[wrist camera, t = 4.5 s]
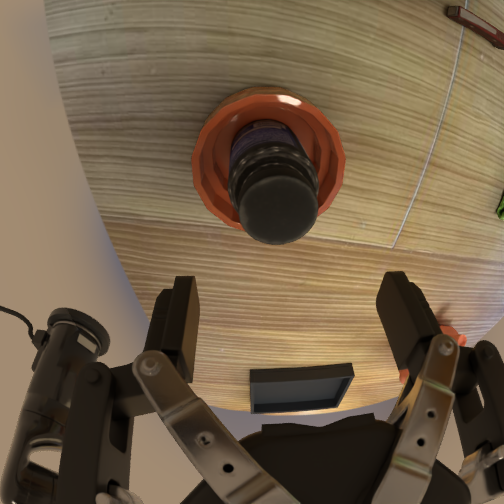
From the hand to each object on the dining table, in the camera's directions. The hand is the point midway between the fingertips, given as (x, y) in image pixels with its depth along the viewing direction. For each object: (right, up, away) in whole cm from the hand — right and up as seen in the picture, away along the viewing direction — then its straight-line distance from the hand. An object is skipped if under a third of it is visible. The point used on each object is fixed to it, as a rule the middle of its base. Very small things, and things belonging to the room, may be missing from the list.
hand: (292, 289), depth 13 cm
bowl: (0, +11, +14) cm, 18 cm away
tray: (+7, -23, +40) cm, 46 cm away
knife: (+24, +23, +6) cm, 34 cm away
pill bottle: (0, +11, +14) cm, 18 cm away
